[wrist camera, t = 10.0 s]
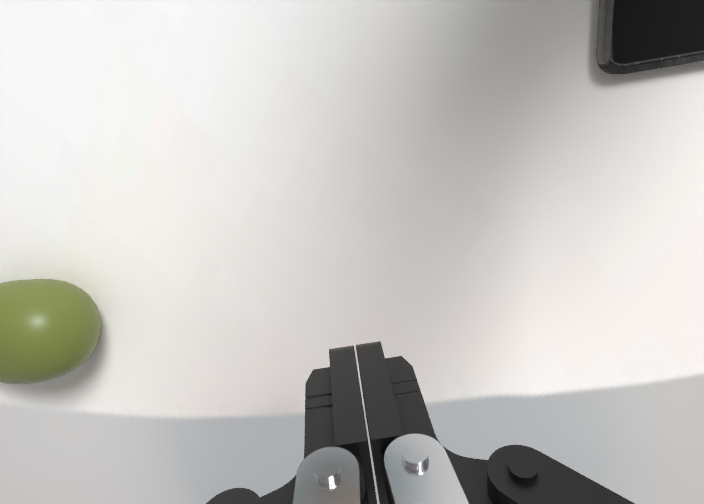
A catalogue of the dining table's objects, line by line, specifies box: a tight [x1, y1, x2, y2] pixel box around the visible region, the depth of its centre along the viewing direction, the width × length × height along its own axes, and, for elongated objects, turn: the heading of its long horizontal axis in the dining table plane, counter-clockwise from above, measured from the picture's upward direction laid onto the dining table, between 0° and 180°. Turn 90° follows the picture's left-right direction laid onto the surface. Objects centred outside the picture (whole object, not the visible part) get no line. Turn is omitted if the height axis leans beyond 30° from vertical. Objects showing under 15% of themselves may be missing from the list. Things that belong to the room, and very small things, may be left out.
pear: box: [0, 279, 101, 384], centre depth 25 cm, size 6×5×10 cm
